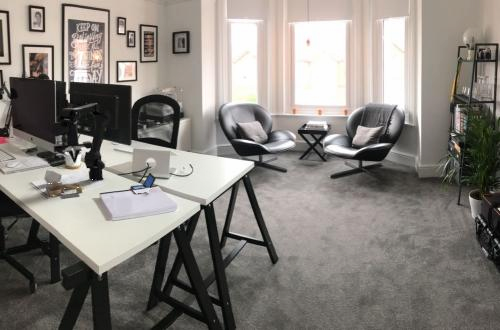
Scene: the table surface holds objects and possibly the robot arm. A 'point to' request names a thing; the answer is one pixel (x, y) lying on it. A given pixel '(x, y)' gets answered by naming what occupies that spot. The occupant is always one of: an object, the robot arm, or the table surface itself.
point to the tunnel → (58, 192)
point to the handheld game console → (146, 182)
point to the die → (52, 176)
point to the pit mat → (70, 195)
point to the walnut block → (56, 187)
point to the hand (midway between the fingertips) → (74, 162)
